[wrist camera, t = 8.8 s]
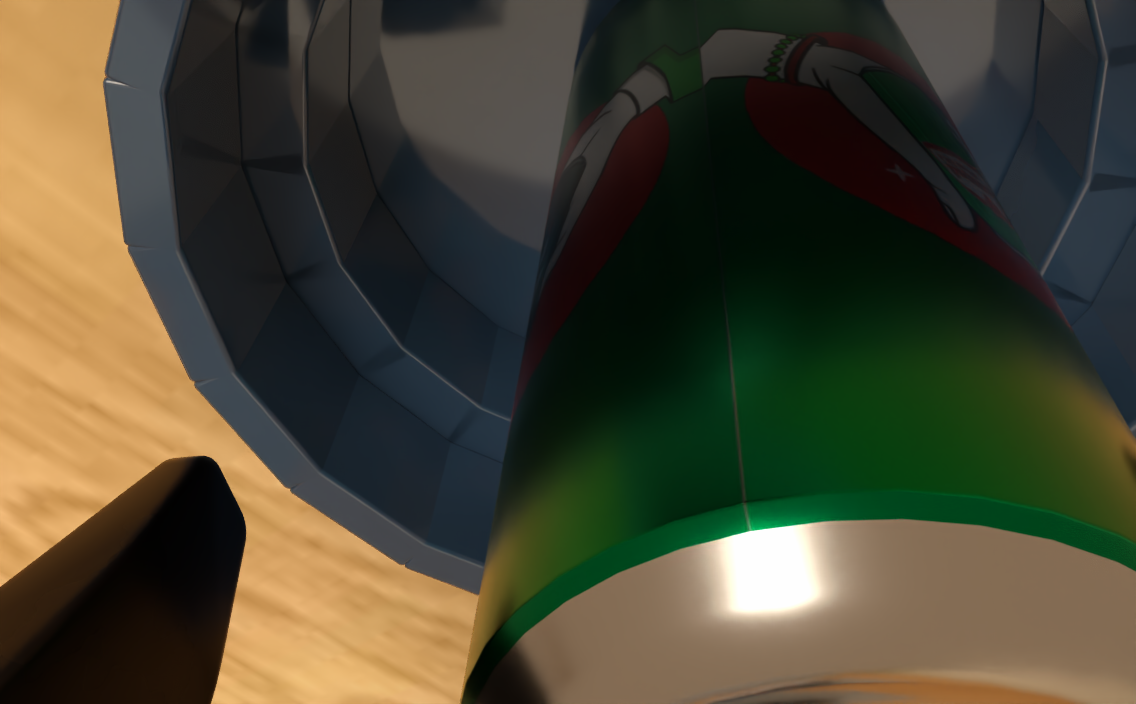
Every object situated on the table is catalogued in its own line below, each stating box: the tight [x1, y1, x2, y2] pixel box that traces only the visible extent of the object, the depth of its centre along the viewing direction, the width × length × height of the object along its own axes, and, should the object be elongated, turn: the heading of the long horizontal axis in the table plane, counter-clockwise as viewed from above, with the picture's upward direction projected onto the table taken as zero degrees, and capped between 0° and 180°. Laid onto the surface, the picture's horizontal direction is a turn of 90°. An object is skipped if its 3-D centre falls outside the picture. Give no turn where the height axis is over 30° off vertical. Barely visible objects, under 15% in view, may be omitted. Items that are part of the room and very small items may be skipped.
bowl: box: [103, 0, 1136, 596], centre depth 14 cm, size 13×13×5 cm
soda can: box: [460, 0, 1136, 704], centre depth 11 cm, size 5×5×12 cm
